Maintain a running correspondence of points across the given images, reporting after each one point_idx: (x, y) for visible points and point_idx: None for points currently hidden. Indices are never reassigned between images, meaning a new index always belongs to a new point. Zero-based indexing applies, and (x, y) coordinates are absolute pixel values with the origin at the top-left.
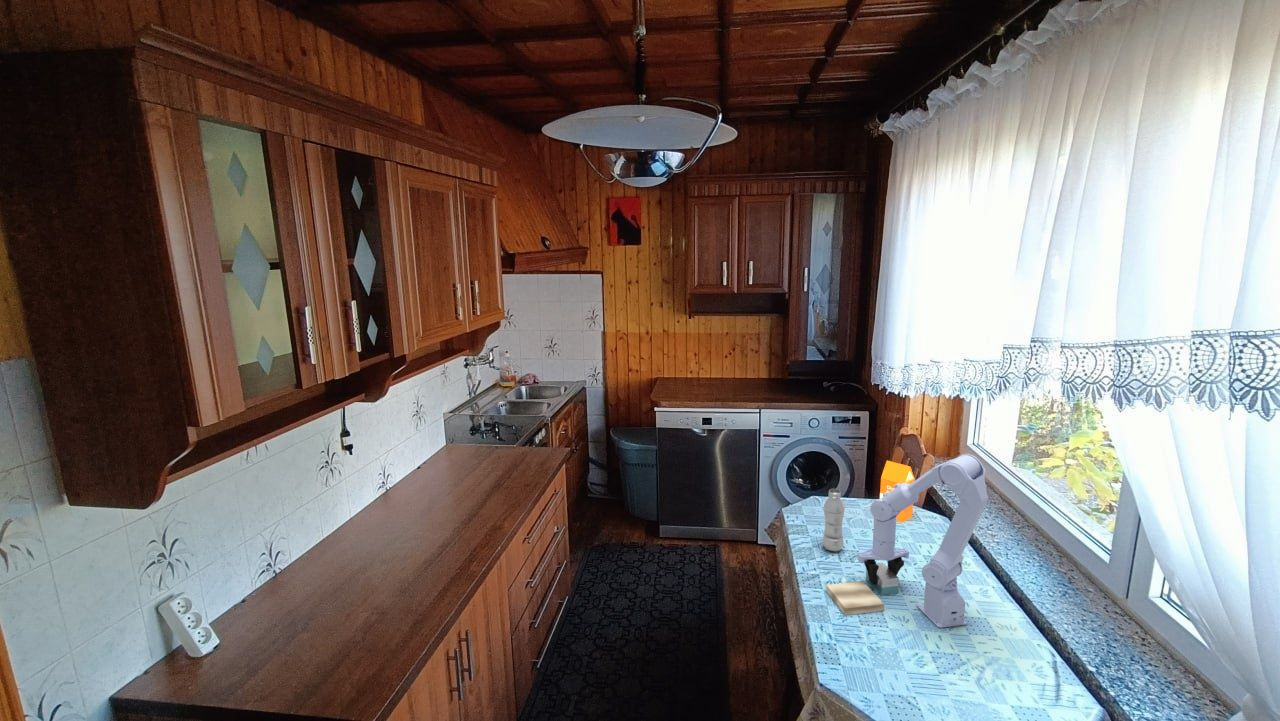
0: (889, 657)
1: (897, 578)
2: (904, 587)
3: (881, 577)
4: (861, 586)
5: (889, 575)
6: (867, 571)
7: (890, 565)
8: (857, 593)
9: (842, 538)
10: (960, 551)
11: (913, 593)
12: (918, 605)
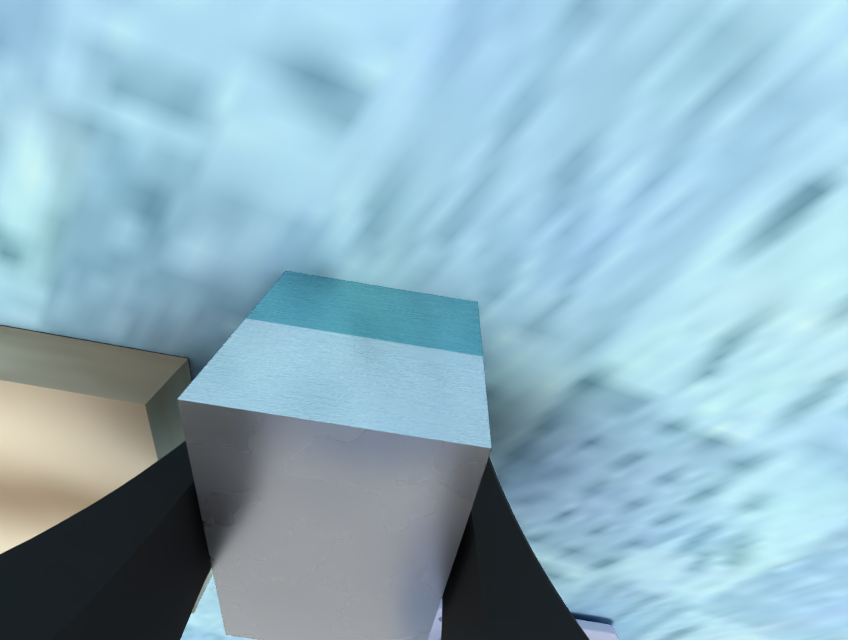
0: None
1: None
2: (547, 469)
3: (238, 618)
4: (96, 459)
5: (352, 623)
6: (155, 466)
7: (463, 636)
8: (31, 504)
9: None
10: None
11: (541, 527)
12: (440, 616)
